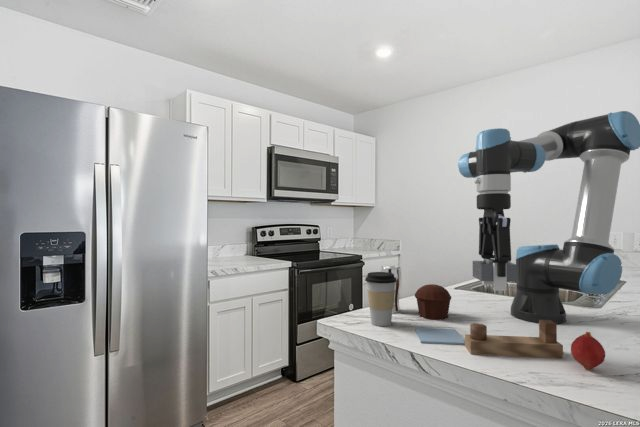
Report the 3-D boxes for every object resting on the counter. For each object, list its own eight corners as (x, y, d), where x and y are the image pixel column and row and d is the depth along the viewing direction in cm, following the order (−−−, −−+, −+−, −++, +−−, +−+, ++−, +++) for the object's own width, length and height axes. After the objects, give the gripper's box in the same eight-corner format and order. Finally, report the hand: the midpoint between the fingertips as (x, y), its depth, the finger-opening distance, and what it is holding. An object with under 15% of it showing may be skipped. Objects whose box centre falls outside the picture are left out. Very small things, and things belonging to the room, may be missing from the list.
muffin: (434, 310, 122) (434, 281, 122) (459, 318, 112) (459, 286, 112) (407, 314, 117) (406, 284, 117) (430, 323, 107) (430, 290, 107)
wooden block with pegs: (551, 350, 85) (551, 319, 85) (563, 358, 80) (562, 325, 80) (464, 346, 87) (464, 316, 87) (470, 354, 82) (470, 322, 83)
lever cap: (505, 276, 89) (505, 257, 89) (517, 281, 82) (517, 261, 82) (472, 276, 90) (472, 257, 90) (481, 281, 83) (481, 260, 83)
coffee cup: (397, 329, 101) (396, 276, 101) (364, 327, 103) (363, 275, 103) (396, 319, 110) (396, 271, 110) (366, 318, 112) (366, 271, 112)
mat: (455, 330, 99) (455, 329, 99) (465, 344, 88) (465, 342, 88) (415, 329, 101) (415, 327, 101) (420, 342, 90) (420, 341, 90)
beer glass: (389, 314, 116) (389, 269, 116) (376, 309, 122) (376, 266, 122) (405, 311, 119) (405, 267, 119) (392, 307, 125) (392, 265, 126)
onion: (564, 364, 77) (563, 327, 77) (588, 363, 77) (588, 326, 77) (586, 376, 71) (586, 336, 71) (612, 375, 71) (612, 335, 71)
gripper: (465, 195, 96) (465, 279, 96) (492, 190, 77) (493, 295, 77) (493, 195, 96) (494, 280, 95) (528, 190, 76) (529, 296, 76)
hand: (493, 287), depth 86 cm, fingers closed on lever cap, 6 cm apart
